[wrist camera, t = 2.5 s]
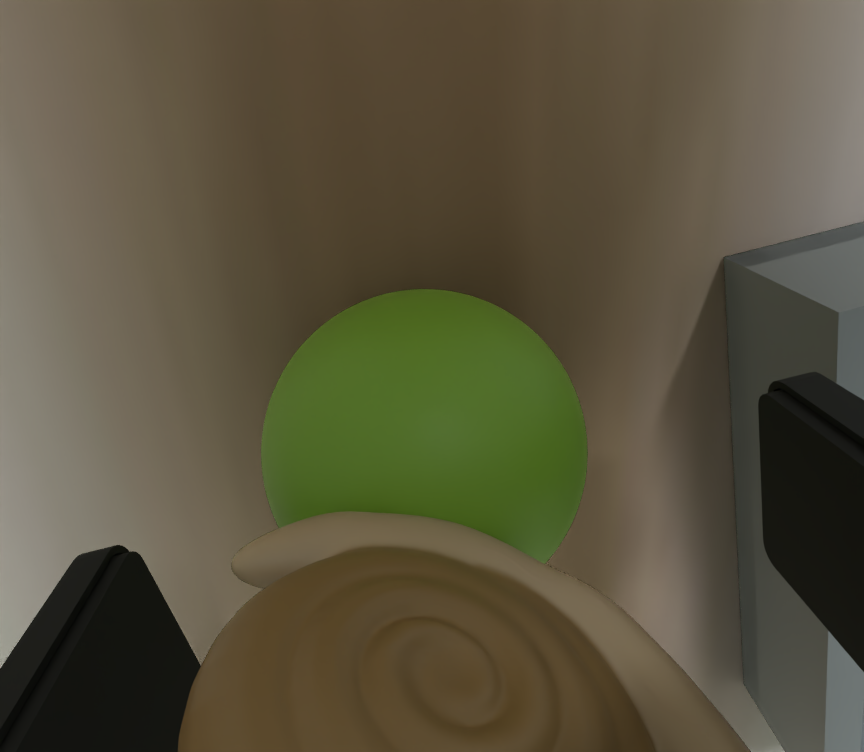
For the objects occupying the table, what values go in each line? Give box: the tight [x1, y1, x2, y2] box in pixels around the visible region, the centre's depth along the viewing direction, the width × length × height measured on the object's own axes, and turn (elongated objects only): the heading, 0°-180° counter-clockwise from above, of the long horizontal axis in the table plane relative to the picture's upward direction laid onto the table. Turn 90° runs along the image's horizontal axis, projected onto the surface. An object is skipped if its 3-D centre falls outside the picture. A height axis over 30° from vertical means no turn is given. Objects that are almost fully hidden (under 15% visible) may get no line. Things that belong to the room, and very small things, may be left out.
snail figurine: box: [178, 289, 751, 752], centre depth 8 cm, size 5×6×12 cm
